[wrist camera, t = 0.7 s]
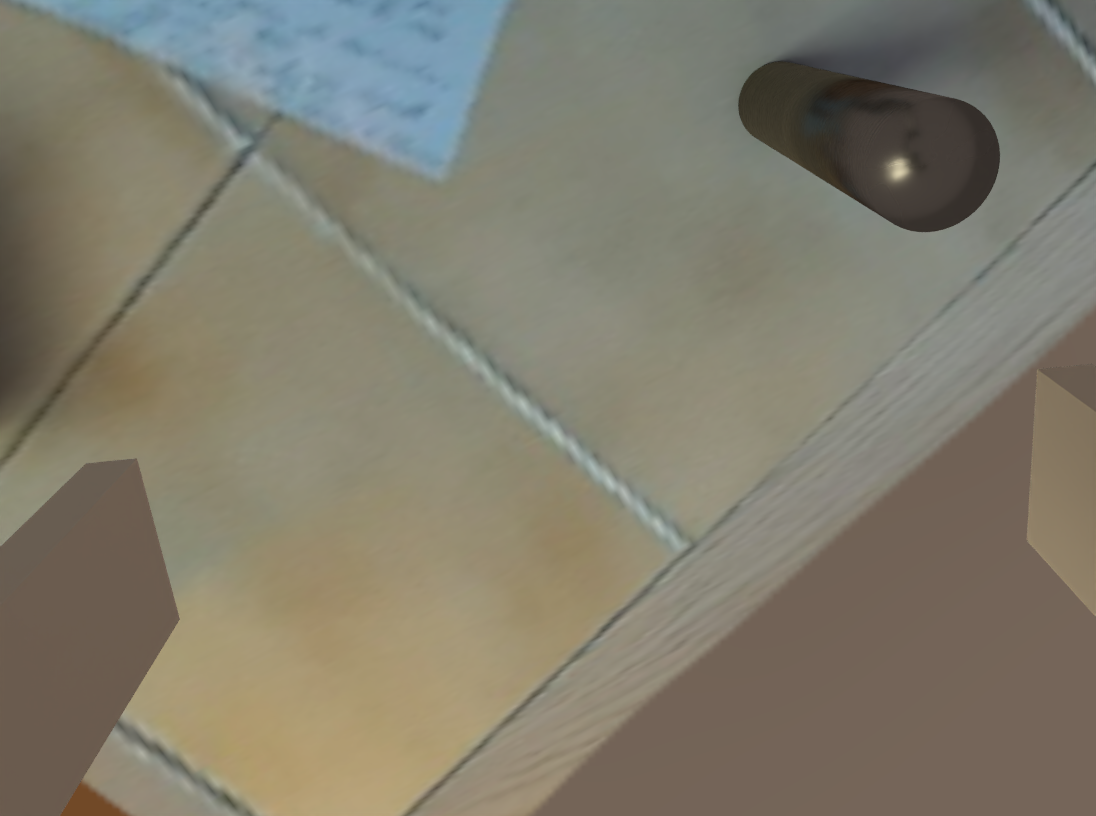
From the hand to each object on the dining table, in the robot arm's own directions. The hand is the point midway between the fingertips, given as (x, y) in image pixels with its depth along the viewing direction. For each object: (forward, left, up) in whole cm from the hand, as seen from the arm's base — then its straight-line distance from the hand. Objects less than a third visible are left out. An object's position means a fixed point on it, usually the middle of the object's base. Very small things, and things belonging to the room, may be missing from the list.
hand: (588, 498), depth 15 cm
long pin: (-4, +7, -25) cm, 26 cm away
